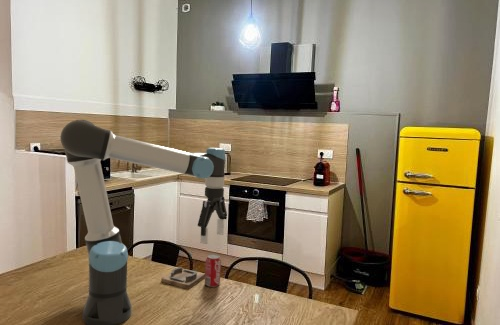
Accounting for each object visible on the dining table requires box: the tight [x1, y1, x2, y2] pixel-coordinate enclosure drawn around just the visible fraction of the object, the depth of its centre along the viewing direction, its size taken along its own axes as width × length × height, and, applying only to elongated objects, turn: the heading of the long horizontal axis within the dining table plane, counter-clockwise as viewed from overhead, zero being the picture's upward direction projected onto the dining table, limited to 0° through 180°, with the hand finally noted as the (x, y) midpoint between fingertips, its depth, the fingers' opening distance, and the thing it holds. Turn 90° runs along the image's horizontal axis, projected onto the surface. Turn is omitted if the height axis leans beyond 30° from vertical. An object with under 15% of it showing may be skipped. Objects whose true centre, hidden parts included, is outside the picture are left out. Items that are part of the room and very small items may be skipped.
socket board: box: [161, 266, 205, 290], centre depth 154 cm, size 13×13×3 cm
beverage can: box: [204, 253, 222, 288], centre depth 150 cm, size 6×6×12 cm
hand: (212, 238), depth 149 cm, fingers open, 13 cm apart
